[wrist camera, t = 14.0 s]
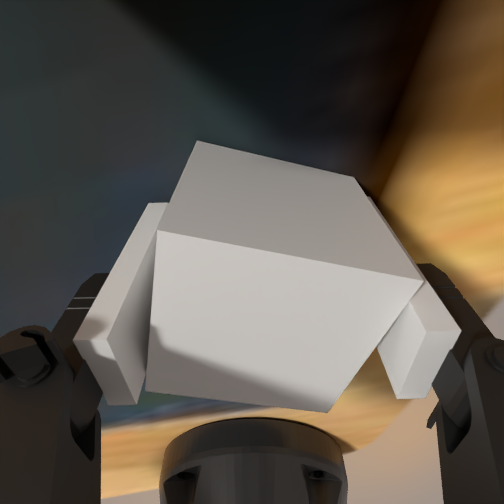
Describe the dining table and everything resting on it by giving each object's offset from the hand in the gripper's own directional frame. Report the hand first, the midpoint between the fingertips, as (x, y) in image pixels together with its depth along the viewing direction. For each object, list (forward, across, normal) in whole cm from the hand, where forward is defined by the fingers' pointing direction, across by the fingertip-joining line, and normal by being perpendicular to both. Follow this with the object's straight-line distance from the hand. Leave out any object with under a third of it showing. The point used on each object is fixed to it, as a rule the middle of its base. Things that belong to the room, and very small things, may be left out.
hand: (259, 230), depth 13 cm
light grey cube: (+1, 0, 0) cm, 1 cm away
